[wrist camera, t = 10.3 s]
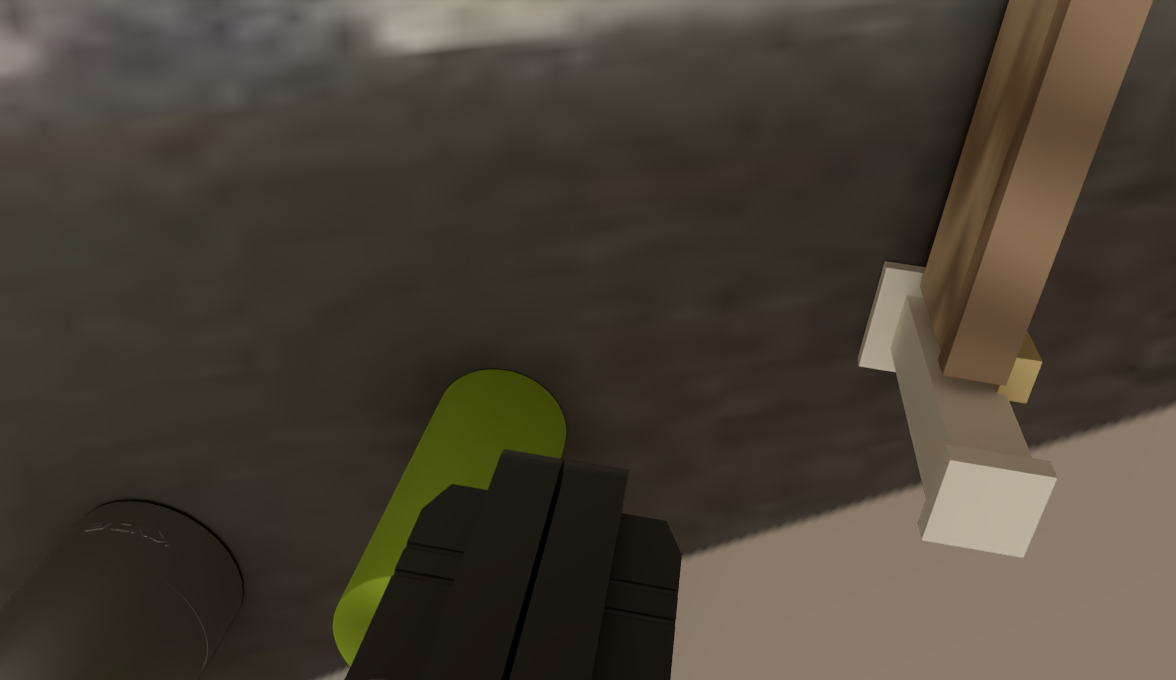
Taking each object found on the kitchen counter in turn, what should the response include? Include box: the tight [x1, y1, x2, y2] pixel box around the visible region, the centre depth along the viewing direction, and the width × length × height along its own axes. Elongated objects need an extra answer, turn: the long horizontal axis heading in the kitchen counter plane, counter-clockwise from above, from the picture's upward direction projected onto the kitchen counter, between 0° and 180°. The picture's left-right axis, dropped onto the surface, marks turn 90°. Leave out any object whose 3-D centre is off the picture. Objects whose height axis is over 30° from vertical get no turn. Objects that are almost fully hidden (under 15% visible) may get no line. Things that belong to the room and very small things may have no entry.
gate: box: [920, 0, 1153, 386], centre depth 31 cm, size 16×2×6 cm, turn 174°
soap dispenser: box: [333, 369, 566, 667], centre depth 36 cm, size 6×7×20 cm
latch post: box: [857, 261, 1057, 558], centre depth 34 cm, size 5×4×12 cm
